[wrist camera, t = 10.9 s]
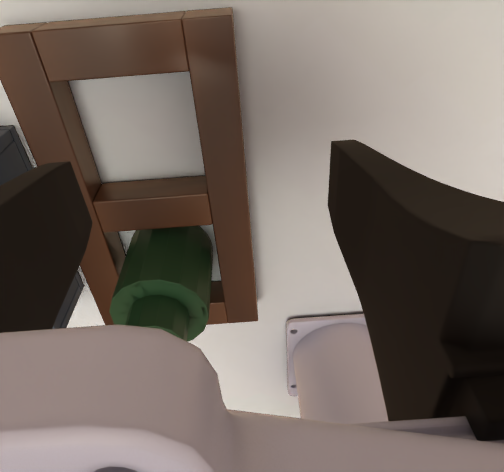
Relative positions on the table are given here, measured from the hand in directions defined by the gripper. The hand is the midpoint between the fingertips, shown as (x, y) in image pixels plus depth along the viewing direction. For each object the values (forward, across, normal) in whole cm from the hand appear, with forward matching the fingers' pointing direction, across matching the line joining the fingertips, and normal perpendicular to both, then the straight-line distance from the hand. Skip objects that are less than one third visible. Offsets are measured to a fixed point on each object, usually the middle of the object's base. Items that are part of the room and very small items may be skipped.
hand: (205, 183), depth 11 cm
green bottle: (+10, +4, +10) cm, 15 cm away
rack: (+10, +4, +6) cm, 12 cm away
